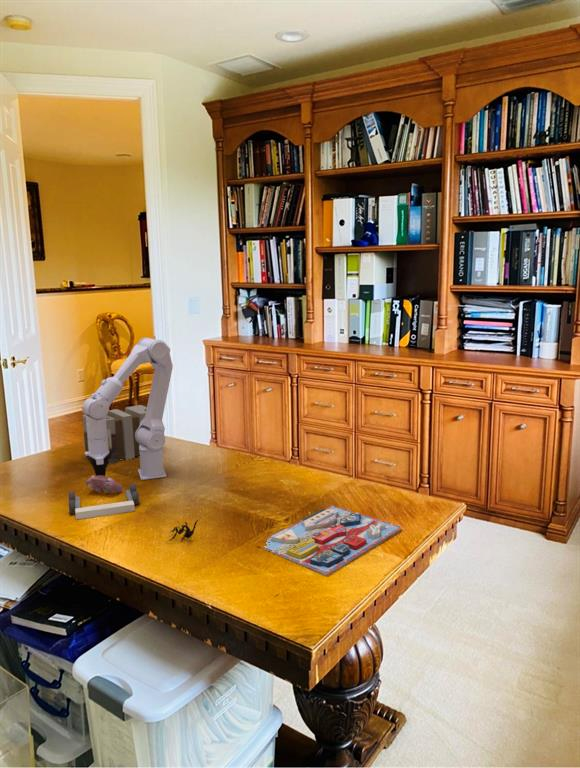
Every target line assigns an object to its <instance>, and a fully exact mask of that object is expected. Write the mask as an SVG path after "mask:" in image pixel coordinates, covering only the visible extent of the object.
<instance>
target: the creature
mask: <svg viewBox="0 0 580 768" xmlns="http://www.w3.org/2000/svg"><path fill="white" fill-rule="evenodd" d="M198 521H199V519H197V520H196V521H195V522H194V524H193V528H192V530H191V528H190V527H189V526H188V523H187V521H184V524H182V525H181V524H180V522H177V524H178V525H180V526H181V527H180V526H176V527H175V526H174V528H172V530H171V529H170V531H169V533H174V535H173V536H172V537H171V538H170V539H168V540H167V541H166V543H167V542H170V541H173V540H174V541H178V539H177V538H176V537H177V534H178V535H181V534H182V533H183V536H182V538H181V540H179V542H180V543H183V540H184V539H185V538H186V539H187V540H189V539H190V538H192V536H193V535H194V533H195V531H196V527H197V526H196V525H197V523H198ZM185 524H186V525H185ZM178 528H179V529H178Z"/></svg>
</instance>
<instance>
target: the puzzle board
mask: <svg viewBox="0 0 580 768" xmlns="http://www.w3.org/2000/svg"><path fill="white" fill-rule="evenodd" d="M400 532H402V526H400V525H397V524H394V523H391V522H387V521H384V520H381V519H377V518H375V517H372V516H371V517H370V516H368V515H364V514H362V513H360V512H355V511H352V510H349V509H346V508H345V509H344V508H341V507H338V506H334V505H330V506H328V507H326V508H322V509H320V510H318V511H316V512H314V513H312V514H310V515H307V516H306V517H304V518H302V519H300V521H299V522H296V523H295V524H293V525H290V526H288V527H287V528H283V529H280V530H278V531H276V532H275V533H272V534H271V536H268V537H266V538H267V542H266V544H267V546H264V547H265V548H264V549H265V550H264V549H263V550H264V551H266V550H268V551H270V552H269V553H271V552H272V553H271V554H273V553H274V555H275V554H276V555H275V556H279V558H283V559H285V560H287V561H290V562H292V563H294V564H296V565H299V566H302V567H304V568H305V569H309V570H310V571H313V572H315V573H317V574H320V575H322V576H325V577H330V576H331V575H333V574H334V573H335V572H337V571H338V570H340V569H342V568H343V567H345V566H347V565H348V564H350V563H352V562H354V561H355V560H356V559H358V558H360V557H361V556H363V555H365V554H366V553H368V552H369V551H371V550H373V549H374V548H376V547H378V546H379V545H381V544H382V543H384V542H386V541H387V540H390V538H392V537H394V536H396V535H397V534H399V533H400ZM268 542H270V543H268ZM269 544H270V545H269ZM268 551H267V552H268Z"/></svg>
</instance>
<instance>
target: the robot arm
mask: <svg viewBox="0 0 580 768" xmlns="http://www.w3.org/2000/svg"><path fill="white" fill-rule="evenodd" d="M170 353H171V347H169V346H168V344H167V343H166V342H165V341H163V340H161V339H156V338H155V339H154V338H151V337H142V338H141V339H140V340H139V341H138V343H137V344H135V345H134V346H133V348H132V350H131V351H130V354H129V355H128V356H127V357H126V359H125V360H124V362H123V363H122V364H121V366H120V367H119V369H118V370H117V371H116V373H115V374H114V376H112V377H110V376H109V377H107V378H106V379H102V381H101V385H100V386H99V388H97V390H95V392H93V393H92V394H91V395H90V397H89V398H87V399H85V401H83V404H82V405H83V406H82V407H81V411H82V413H83V415H86V426H87V437H88V449H89V451H88V452H84V455H85V457H86V456H88V455H89V456H90V458H89V459H90V460H89V459H88V460H89V463H90V465H91V466H92V469H93V471H94V474H95V476H98V475H103V476H105V477H106V473H107V467H108V465H109V464H108V462H109V455H108V454H109V449H108V438H107V426H106V415H109V412H108V411H109V410H110V406H111V405H112V404H113V402H114V401H115V400H116V398H117V397H118V396H119V395H120V393H121V392H122V391H123V389H124V382H126V380H127V379H128V378H129V377H130V376H131V375H132V374H133V373H134V372H135V371H136V369H138V367H139V366H140V365H143V364H148V363H149V364H150V365H151V366H152V368H153V370H154V371H153V376H152V380H151V385H150V390H149V396H148V401H147V405H146V407H147V410H146V415H145V418H144V419H143V420H142V421H141V422H140V426H139V428H138V429H137V431H136V433H135V439H136V441H137V442H138V443H139V453H140V456H139V466H140V468H139V469H137V472H138V474H139V478H140V480H142V481H143V480H151V479H160V478H167V473H166V471H165V469H164V458H163V457H164V456H163V447H164V445H165V443H166V436H165V430H166V428H165V425H164V423H163V418H164V411H165V406H166V402H167V397H168V392H169V387H170V381H171V377H172V373H173V366H174V365H173V361H172V356H171V354H170ZM107 464H108V465H107Z"/></svg>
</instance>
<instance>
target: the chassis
mask: <svg viewBox="0 0 580 768" xmlns="http://www.w3.org/2000/svg"><path fill="white" fill-rule="evenodd" d="M125 496H127V497H126V501H121V502H120V501H118V502H112V503H105V504H98V505H93V506H92V505H91V506H85V507H84V506H83V507H81V500H80V495H79V496H76V492H75V491H68V511H69V512H68V513H69V515H70V514H75V521H76V520H84V519H90V518H97V517H104V516H109V515H110V516H111V515H116V514H124V513H130V512H136V511H135V510H136V509H135V505H139V504H140V496H139V492H138V491H137V484H136V483H130V484H129V489H125ZM127 500H128V501H127Z"/></svg>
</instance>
